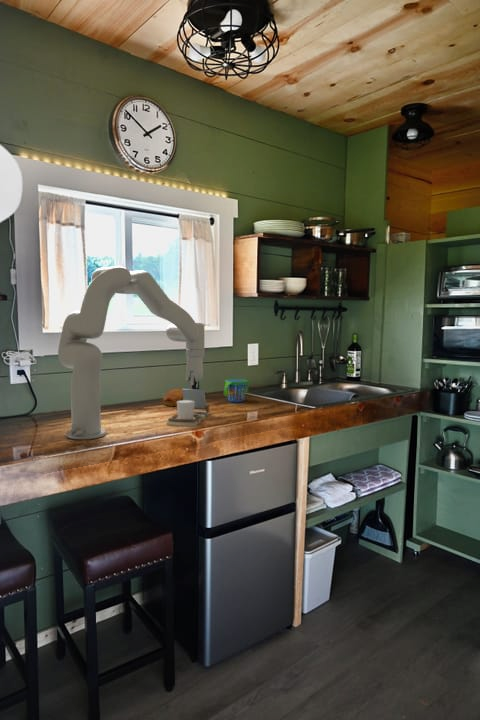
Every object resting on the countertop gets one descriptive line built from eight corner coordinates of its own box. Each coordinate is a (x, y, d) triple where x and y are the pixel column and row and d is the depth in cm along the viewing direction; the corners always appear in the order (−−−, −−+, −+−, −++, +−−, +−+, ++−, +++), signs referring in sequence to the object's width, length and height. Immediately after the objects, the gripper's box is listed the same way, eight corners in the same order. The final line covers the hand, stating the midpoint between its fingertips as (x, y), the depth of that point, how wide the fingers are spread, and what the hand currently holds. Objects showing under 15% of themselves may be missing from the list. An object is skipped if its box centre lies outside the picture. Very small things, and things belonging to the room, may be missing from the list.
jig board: (195, 426, 184) (195, 415, 183) (166, 424, 186) (166, 414, 185) (209, 414, 205) (209, 404, 205) (183, 412, 207) (183, 403, 207)
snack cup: (240, 398, 244) (240, 377, 243) (255, 401, 236) (256, 379, 235) (216, 401, 233) (216, 380, 232) (231, 405, 225) (232, 383, 224)
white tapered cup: (198, 419, 190) (198, 401, 189) (184, 422, 185) (184, 403, 184) (187, 416, 194) (187, 399, 194) (173, 419, 190) (173, 401, 189)
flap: (203, 390, 199) (204, 389, 200) (181, 389, 200) (182, 388, 201) (205, 410, 203) (206, 408, 204) (184, 409, 205) (185, 407, 206)
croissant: (177, 404, 237) (176, 388, 237) (202, 404, 228) (200, 386, 228) (155, 408, 225) (154, 391, 225) (180, 408, 216) (179, 389, 216)
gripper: (191, 351, 210) (191, 394, 211) (181, 354, 195) (181, 400, 197) (208, 351, 208) (208, 395, 210) (199, 355, 194) (199, 401, 196)
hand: (195, 397), depth 204 cm, fingers closed
